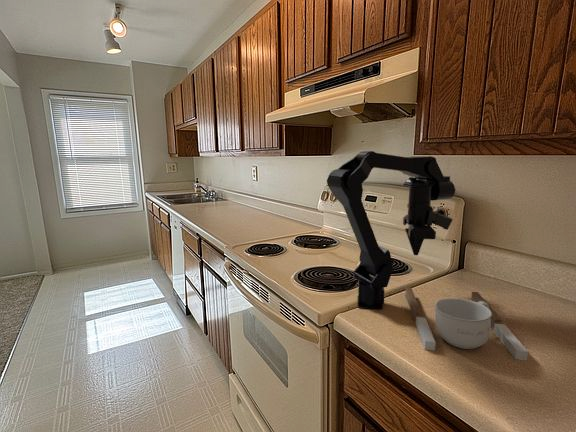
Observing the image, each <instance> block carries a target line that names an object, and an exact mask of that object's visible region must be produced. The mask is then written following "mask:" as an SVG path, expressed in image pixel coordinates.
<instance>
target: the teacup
mask: <svg viewBox="0 0 576 432" xmlns="http://www.w3.org/2000/svg"><path fill="white" fill-rule="evenodd" d="M486 302H487V301H486ZM486 302H484V301H479V302H474V301H471V299H465V298H457V297H447V298H441V299H438V300H437V301H436V302H435V303H434V322H435V323H434V324H435V325H434V326H435V329H436V332H437V334H438V336H440V337H441V338H442V339H443V340H444V341H445V342H446V343H448V344H449V345H451V346H453V347H456V348H459V349H464V350H470V349H471V350H472V349H477V348H478V347H481V346H483V345H485V344H486V343H487V342H488V340H489V338H490V334H491V316H492V313H491V311H490V310H489V305H490V304H489V303H488V302H487V303H488V304H489V305H488V304H487V303H486Z"/></svg>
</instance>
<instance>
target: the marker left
mask: <svg viewBox="0 0 576 432" xmlns="http://www.w3.org/2000/svg"><path fill="white" fill-rule="evenodd" d="M415 327H416V329H417V332H418V335H419V337H420V340H421V343H422V346H423V348H424V350H425V351H426V350H428V351H436V343H437V342H436V340H435V337H434V335H433V332H432V330H431V328H430V326H429V324H428V321H427V319H426V317H423V316H422V317H416V322H415Z"/></svg>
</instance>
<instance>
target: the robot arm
mask: <svg viewBox="0 0 576 432" xmlns="http://www.w3.org/2000/svg"><path fill="white" fill-rule="evenodd" d="M373 169H381V170H391V171H398V172H401V173H402V174H403V175H406V176H409V177H408V179H407V180H406V181H404V183H402V184H403V186H404V187H409V190H408V191H409V192H408V203H407V204H406V206H407V214H406V215H405V216H403V217H402V224H403V226H406V225H408V226H407V228H405V229H404V230H405V233H406V236H407V238H408V242H409V245H410V248H411V251H412V253H413V256H419V253H420V251H421V248H422V246H423V242H424V240H436V235H437V232H436V230H435V229H434V228H433V227H432V226H433V225H435V226H437V227H440V228H442V229H443V230H446V231H447V230H449V229H450V226H451V224H452V222H453V221H454V220H453V218H452V217H450V216H448V215H446V211H445V210H444V209H441V208H438V209H436V210H434V208H433V207H432V206H431V203H432V202H431V201H433V202H434V201H444V200H450V199H452V198H453V197H454V195H455V193H456V187H455V184H454V183H453V181H451V176H448V175H447V176H446V175H444V174H443V172H442V170H441V168H440V166H439V163H438V161H437V158H436V157H434V156H432V155H431V156H430V155H429V156H427V155H426V156H420V155H419V156H418V155H417V156H400V155H394V154H385V153H382V152H381V153H379V152H375V151H373V150H368V151H367V150H364V151H360V152H358V153H357V154H356V155H355V156H354V157H353V158H351V159H350V160H348V161H346V162H345V163H343V164H342V165H340V166H339V167H338V168H337V169H334V170H332V171H331V172H330V173H329V175H328V177H327V179H326V184H327V187H328V189H329V190H330V192H331V194H332V195H333V197H334V198H335V199H336V200H337V201H338V202H339V203H340V205H342V207H343V209H344V211H345V214H346V216H347V218H348V219H347V220H348V221H349V224H350V226H351V229H352V231H353V234H354V237H355V238H356V242H357V245H358V247H359V249H360V254H359V264H358V265H357V267H356V268H355V269H354V270H353V271H352V275H353V278H354V279H355V280H357V281H358V285H357V287H358V288H357V289H358V290H357V293H358V294H357V307H358V308H361V309H370V310H371V309H372V310H373V309H374V310H383V309H384V308H383V305H384V304H385V293H386V292H385V288H387V287H388V284H389V283H390V279H391V276H392V274H393V271H394V265H393V264H394V263H395V261H394V260H393V258H392V256H391V252H390V250H389V249H386V248H384V247H382V246H380V245H379V243H378V241H377V238H376V236H375V233H374V230H373V227H372V224H371V222H370V220H369V217H368V215H367V212H366V208H365V207H364V203H363V201H362V197H363V194H364V187H363V183H364V182H365V181H366V180H367V179H368V178H369V176H370V174H371V172H372V171H373Z"/></svg>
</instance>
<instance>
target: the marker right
mask: <svg viewBox="0 0 576 432" xmlns="http://www.w3.org/2000/svg"><path fill="white" fill-rule="evenodd" d="M493 332H494V334H495V335H496V336H497V337H498V339H499V340H500V341H501V342H502V344H503V345H504V347H505V348H506V349H507V350H508V352H509V353H510V354H511V355H512V357H513V358H514V359H515V360H520V361H528V355H529V350H527V348H526V347H525V346H524V345H523V344H522V343H521V342H520V340H519V339H518V338H517V337H516V335H514V333H513V332H512V331H511V330H510V329H509V328H508V326H506V324H503V323H502V324H495V325H494V328H493Z"/></svg>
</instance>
